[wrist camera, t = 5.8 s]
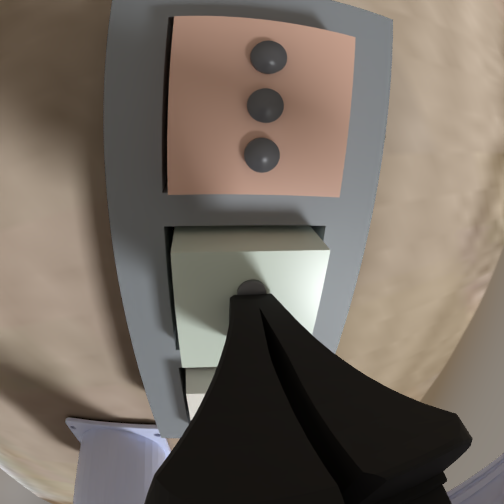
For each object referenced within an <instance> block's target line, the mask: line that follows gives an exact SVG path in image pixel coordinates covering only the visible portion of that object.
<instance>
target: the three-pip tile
mask: <svg viewBox="0 0 504 504" xmlns="http://www.w3.org/2000/svg"><path fill="white" fill-rule="evenodd" d="M355 38H356V37H353V36H349V35H345V34H341V33H337V32H333V31H328V30H324V29H319V28H314V27H309V26H304V25H298V24H292V23H286V22H279V21H271V20H263V19H253V18H242V17H225V16H174V24H173V34H172V46H171V59H170V75H169V95H168V130H167V178H168V195H193V194H249V195H293V196H319V197H340V191H341V184H342V177H343V170H344V162H345V155H346V147H347V138H348V129H349V120H350V110H351V99H352V87H353V74H354V59H355Z"/></svg>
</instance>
